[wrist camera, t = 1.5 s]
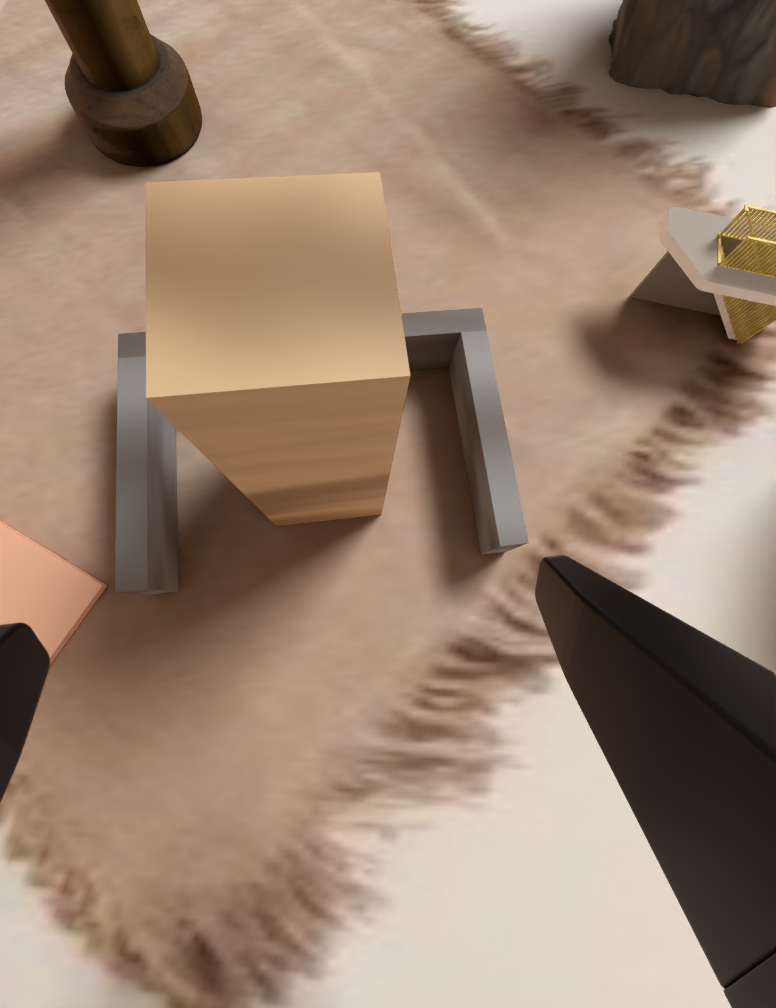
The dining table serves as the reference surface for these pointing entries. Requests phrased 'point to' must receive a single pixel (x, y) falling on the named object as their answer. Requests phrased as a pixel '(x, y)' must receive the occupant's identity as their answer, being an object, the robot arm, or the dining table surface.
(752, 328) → the platform
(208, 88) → the dining table surface
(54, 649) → the mat
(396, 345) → the block
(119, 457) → the nook
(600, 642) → the robot arm
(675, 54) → the owl
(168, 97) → the mortar and pestle
